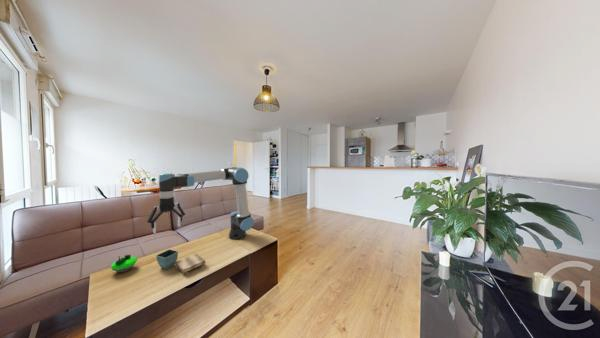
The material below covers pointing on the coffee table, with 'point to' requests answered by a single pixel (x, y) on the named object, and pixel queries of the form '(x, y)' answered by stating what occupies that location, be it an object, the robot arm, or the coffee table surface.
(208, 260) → the coffee table surface
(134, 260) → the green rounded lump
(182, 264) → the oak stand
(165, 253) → the flower pot
